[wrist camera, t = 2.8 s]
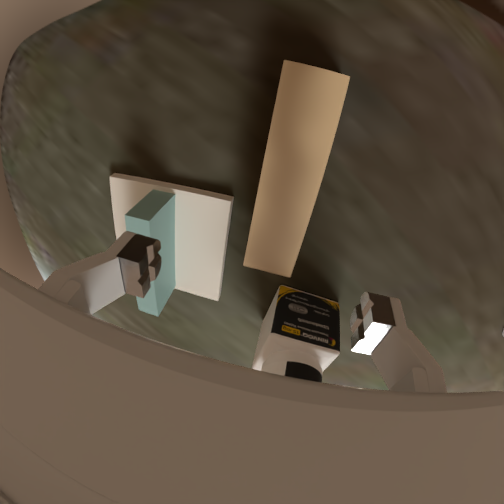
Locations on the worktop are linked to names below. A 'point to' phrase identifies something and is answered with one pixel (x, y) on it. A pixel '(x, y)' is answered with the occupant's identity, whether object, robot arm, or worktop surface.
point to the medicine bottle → (298, 335)
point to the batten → (294, 164)
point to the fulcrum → (175, 234)
